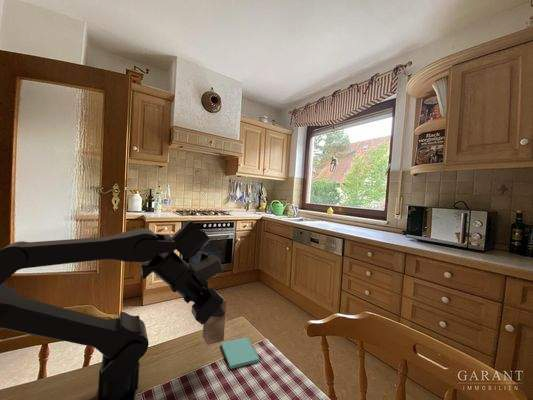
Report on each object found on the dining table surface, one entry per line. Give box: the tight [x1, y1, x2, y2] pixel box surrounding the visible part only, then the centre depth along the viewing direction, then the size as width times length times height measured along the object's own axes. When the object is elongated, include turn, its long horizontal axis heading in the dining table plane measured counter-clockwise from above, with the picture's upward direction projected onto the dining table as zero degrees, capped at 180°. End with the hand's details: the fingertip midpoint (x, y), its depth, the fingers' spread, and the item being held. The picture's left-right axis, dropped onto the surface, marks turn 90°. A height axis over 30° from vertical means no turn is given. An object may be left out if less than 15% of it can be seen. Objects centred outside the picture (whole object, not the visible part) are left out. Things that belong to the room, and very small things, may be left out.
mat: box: [220, 337, 260, 370], centre depth 62 cm, size 8×9×1 cm
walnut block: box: [202, 293, 227, 346], centre depth 58 cm, size 4×4×10 cm
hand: (220, 310), depth 58 cm, fingers closed on walnut block, 4 cm apart
